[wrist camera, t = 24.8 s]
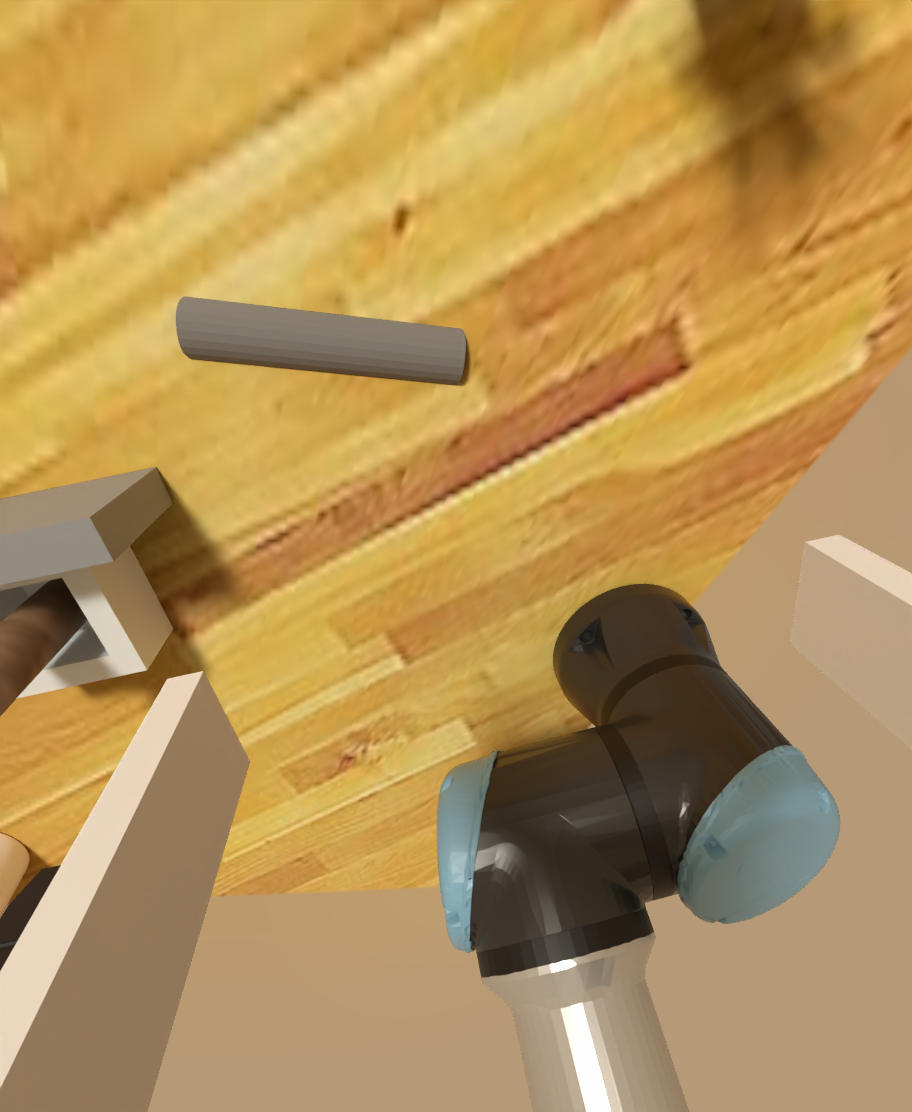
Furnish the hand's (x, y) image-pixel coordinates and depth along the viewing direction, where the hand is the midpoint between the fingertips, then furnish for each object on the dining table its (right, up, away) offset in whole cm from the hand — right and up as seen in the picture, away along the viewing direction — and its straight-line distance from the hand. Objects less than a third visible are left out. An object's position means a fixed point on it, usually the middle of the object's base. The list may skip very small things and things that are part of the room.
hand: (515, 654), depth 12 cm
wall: (-34, +6, +29) cm, 44 cm away
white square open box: (-33, 0, +32) cm, 46 cm away
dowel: (-32, -1, +31) cm, 45 cm away
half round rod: (-11, +18, +26) cm, 33 cm away
